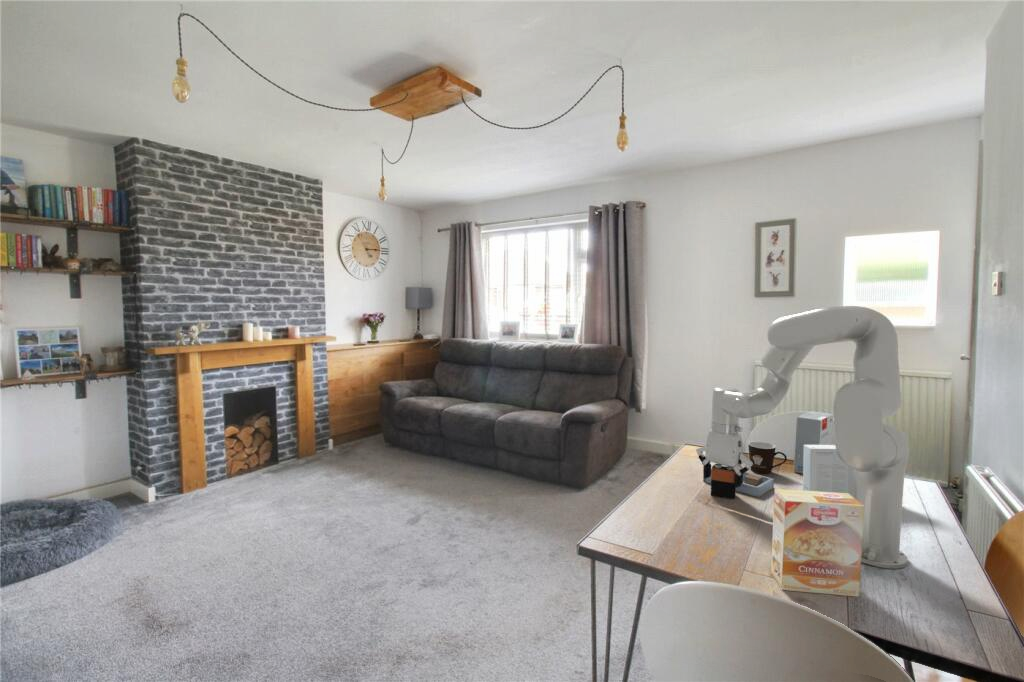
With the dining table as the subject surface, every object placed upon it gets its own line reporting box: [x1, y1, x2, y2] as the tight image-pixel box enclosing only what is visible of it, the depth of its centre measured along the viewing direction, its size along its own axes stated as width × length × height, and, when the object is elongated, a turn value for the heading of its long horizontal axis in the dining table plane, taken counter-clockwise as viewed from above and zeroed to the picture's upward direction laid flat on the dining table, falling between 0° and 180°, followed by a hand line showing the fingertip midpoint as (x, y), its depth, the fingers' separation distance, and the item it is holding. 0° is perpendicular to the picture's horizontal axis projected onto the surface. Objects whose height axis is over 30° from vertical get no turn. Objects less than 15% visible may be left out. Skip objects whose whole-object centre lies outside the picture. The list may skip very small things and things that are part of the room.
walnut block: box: [744, 473, 763, 487], centre depth 155 cm, size 4×4×4 cm
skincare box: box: [802, 444, 854, 496], centre depth 149 cm, size 21×6×16 cm, turn 84°
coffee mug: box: [748, 440, 788, 475], centre depth 169 cm, size 12×9×10 cm
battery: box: [710, 463, 737, 500], centre depth 150 cm, size 4×7×10 cm, turn 63°
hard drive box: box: [793, 410, 834, 475], centre depth 173 cm, size 16×8×20 cm, turn 132°
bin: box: [702, 465, 775, 498], centre depth 159 cm, size 12×18×4 cm, turn 40°
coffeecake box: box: [770, 488, 864, 598], centre depth 103 cm, size 15×7×20 cm, turn 80°
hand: (722, 481), depth 150 cm, fingers open, 9 cm apart
